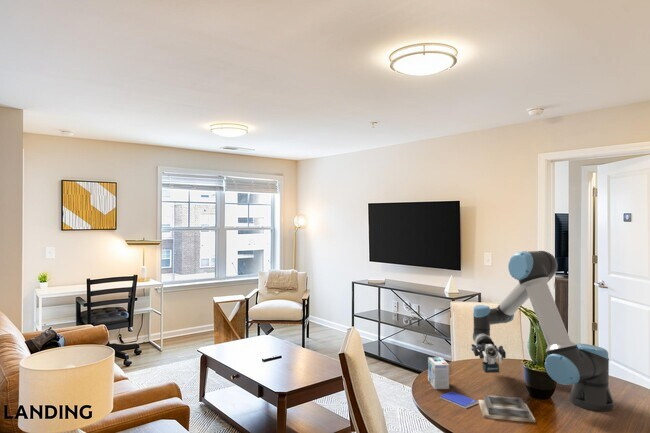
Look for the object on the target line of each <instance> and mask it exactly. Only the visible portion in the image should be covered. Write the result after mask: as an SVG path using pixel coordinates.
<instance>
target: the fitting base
mask: <svg viewBox="0 0 650 433" xmlns="http://www.w3.org/2000/svg"><path fill="white" fill-rule="evenodd" d="M477 401H478V405H479V408H480V411H481V414H482V417H483V418H484V419H495V420H504V421H516V422H526V423H536V418H535V417H534V415H533V412H532V411H531V410H530V408H529V406H528V405H527V403H525V402H524V399H522V397H515V396H514V397H513V396H502V395H490V394H484V395H483V399H478V400H477Z"/></svg>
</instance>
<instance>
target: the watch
mask: <svg viewBox="0 0 650 433" xmlns="http://www.w3.org/2000/svg"><path fill="white" fill-rule="evenodd" d="M498 353H499V352H498V351H497V349H496V348H495V347H494V346H493V345H492V344H486V345H485V354H486V355H487V362H485V361H481V362H482V370H483V371H484V372H485V373H486V374H489V373H490V374H492V373H500V365H499V363H498V362H497V360H498V359H497V355H498Z"/></svg>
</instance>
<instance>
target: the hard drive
mask: <svg viewBox="0 0 650 433" xmlns="http://www.w3.org/2000/svg"><path fill="white" fill-rule="evenodd" d="M439 398H440V399H442V400H444V401H447V402H449V403H451V404H454V405H456V406H458V407H461V408H463V409H468V408H470V407H473V406H475V405H477V404H478V405H479V402H478V400H476V399H473V398H471V397H468V396H465V395H464V394H460V393H457V392H455V391H450V392H446V393H443V394H440V396H439Z"/></svg>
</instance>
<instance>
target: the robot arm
mask: <svg viewBox="0 0 650 433" xmlns="http://www.w3.org/2000/svg"><path fill="white" fill-rule="evenodd" d="M507 268H508V272H509V275H510V276H511V278H514V279H515V280H517V281H518V284H517V285H515V287H514V288H513V289H512V290H511V291H510V292H509V294H508V295H507V296H506V297H505V298H504V299H503V300H502V301H501V303H500V304H498V305H497V307H495V308H494V307H493V308H490V306H487V305H485V304H484V305H480V304H479V305H478V304H477V305H474V307H473V313H472V316H473V332H472V340H473V341H474V343H475V344H474V343H473V344H471V351H473V354H474V356H475V357H479V359H483V362H487V355H486V354H485V345H486V344H492V345H493V346H494V347H495V348H496V349H497V351H498V352H499V353H498V355H497V359H496V360H497V361H498V364H502V363H503V360H504V359H505V358H506V356H507V352H506V351H505V349H504V346H503V345H499V346H497V345H496V344H495V342H494V341H493V339H492V338H491V325H496V324H497V325H498V324H499V325H500V324H507V323H510V322H512V321H513V320H514V317H515V313H516V312H517V311H518V310H519V309H520V308H518V307H519V306H521V307H522V306H523V305H524V304H525V302H527V300H528V299H529V300H530V304H531V306H532V308H533V311H534V313H535V316H536V319H537V321H539V322H538V325H539V327H540V330H541V331H542V335H543V337H544V340H545V342H546V345H547V347H546V350H545V353H546V354H545V355H546V358H545V359H544V360H545V362H544V368H545V371H546V373H547V375H548V376H549V377H550V379H552V380H553V381H554V382H556V383H557V384H560V385H563V386H564V385H565V386H567V385H572V388H571V389H570V392H569V401H570V402H571V403H572V404H574V405H576V406H578V407H580V408H583V409H586V410H590V411H595V412H596V411H597V412H609V410H610V411H613V410H614V409H615V401H614V399H613V395H612V393H611V390H610V389H611V388H610V386H609V385H610V384H609V382H610V381H609V378H610V377H609V373H610V372H609V371H610V368H609V367H610V365H609V362H610V358H609V352H608V350H607V349H605V348H603V347H601V346H598V345H593V344H587V343H575V342H573V341H572V340H571V338H570V336H569V334H568V331H567V329H566V327H565V323H564V322H563V319H562V317H561V313H560V312H559V309H558V306H557V305H556V302H555V300H554V297H553V294H552V292H551V289H550V287H549V285H548V282H550V280H551V279H553V277H554V276H555V275H556V274H557V271H558V262H557V259H556V257H555V256H554V255H553V254H552V253H550V252H548V251H545V250H535V251H534V250H533V251H532V250H531V251H519V252H516V253H514V254H513V255H511V257H510V258H509V261H508V265H507ZM613 408H614V409H613ZM612 409H613V410H612Z"/></svg>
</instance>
